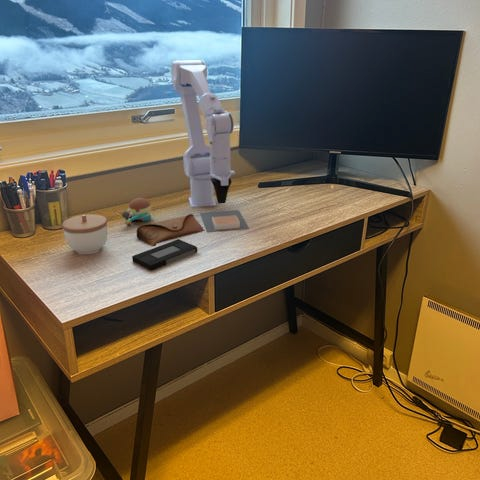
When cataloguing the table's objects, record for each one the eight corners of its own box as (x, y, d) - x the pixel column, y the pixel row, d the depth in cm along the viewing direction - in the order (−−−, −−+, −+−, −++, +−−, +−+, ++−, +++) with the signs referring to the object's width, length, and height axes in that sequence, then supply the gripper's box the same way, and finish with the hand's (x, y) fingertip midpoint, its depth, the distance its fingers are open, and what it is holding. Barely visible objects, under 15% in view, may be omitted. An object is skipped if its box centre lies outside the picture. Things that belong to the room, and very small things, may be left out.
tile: (211, 217, 138) (215, 224, 132) (235, 215, 139) (239, 222, 133) (212, 222, 138) (215, 229, 133) (235, 220, 139) (239, 227, 134)
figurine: (118, 224, 143) (111, 204, 139) (147, 211, 147) (141, 191, 144) (128, 232, 137) (122, 211, 134) (158, 218, 142) (153, 198, 138)
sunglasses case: (150, 247, 123) (142, 222, 124) (141, 252, 129) (134, 228, 129) (209, 231, 133) (201, 208, 133) (198, 236, 139) (190, 214, 139)
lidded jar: (72, 242, 127) (67, 208, 123) (113, 240, 128) (109, 207, 124) (61, 259, 117) (55, 223, 114) (106, 257, 118) (101, 222, 114)
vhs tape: (197, 254, 120) (197, 246, 120) (151, 273, 111) (150, 265, 110) (179, 246, 125) (178, 239, 124) (132, 263, 116) (132, 256, 115)
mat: (200, 214, 146) (199, 212, 146) (238, 211, 148) (238, 210, 148) (206, 233, 132) (206, 232, 131) (249, 230, 134) (249, 228, 133)
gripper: (239, 162, 129) (239, 209, 135) (229, 150, 142) (230, 194, 148) (213, 163, 128) (214, 211, 134) (206, 151, 141) (207, 195, 147)
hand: (221, 202), depth 141 cm, fingers closed
